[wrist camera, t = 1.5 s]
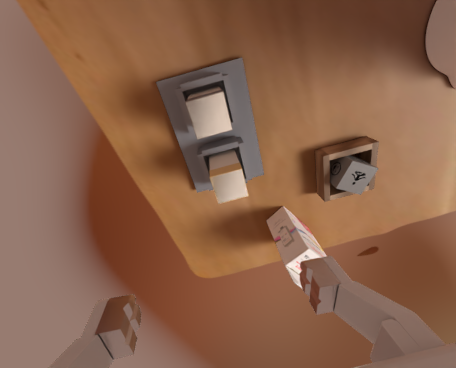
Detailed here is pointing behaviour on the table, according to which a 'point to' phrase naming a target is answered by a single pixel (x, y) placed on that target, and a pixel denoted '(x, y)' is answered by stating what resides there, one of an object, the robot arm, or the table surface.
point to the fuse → (227, 176)
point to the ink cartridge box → (293, 242)
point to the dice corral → (323, 155)
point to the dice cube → (351, 173)
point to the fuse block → (201, 149)
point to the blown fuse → (208, 112)
